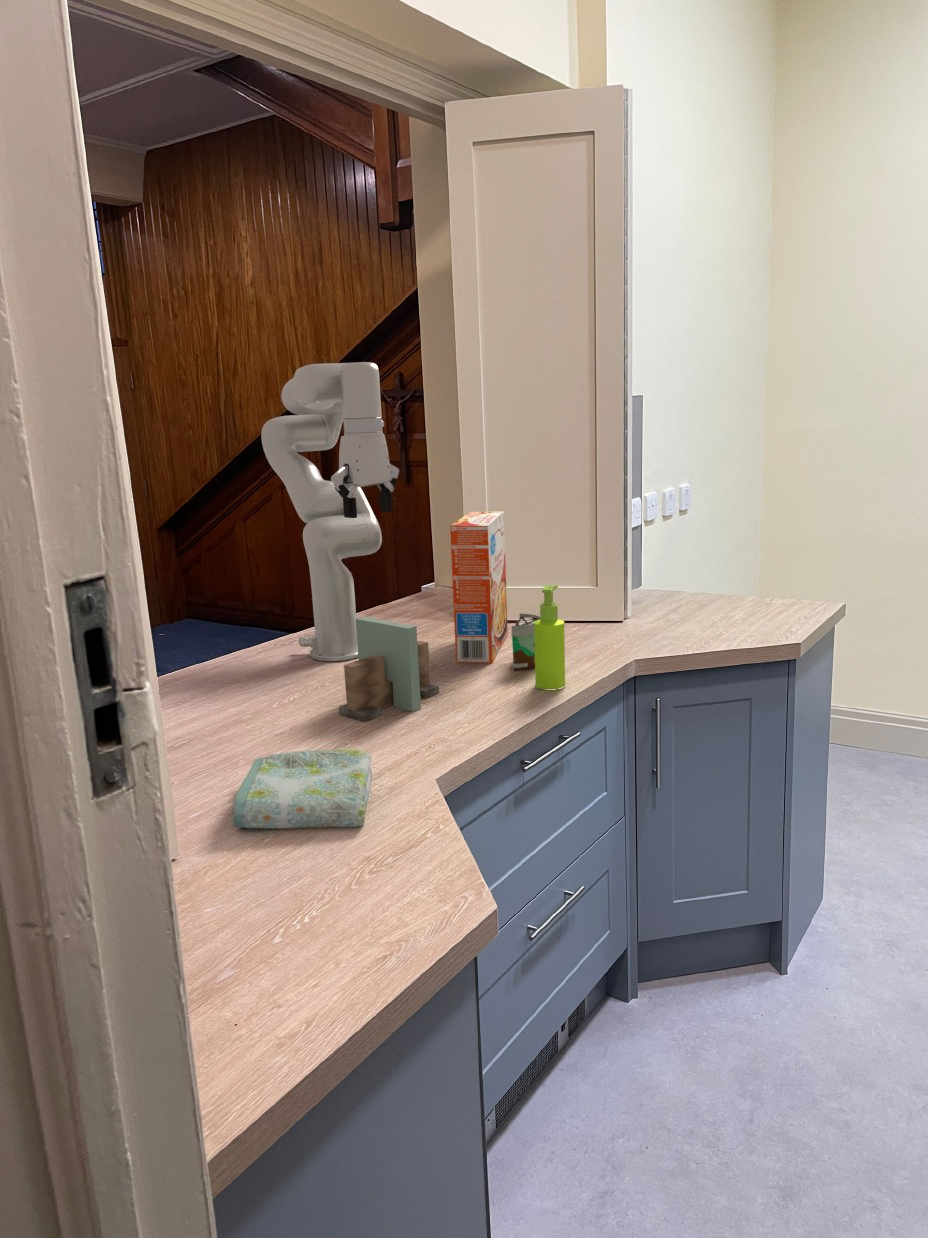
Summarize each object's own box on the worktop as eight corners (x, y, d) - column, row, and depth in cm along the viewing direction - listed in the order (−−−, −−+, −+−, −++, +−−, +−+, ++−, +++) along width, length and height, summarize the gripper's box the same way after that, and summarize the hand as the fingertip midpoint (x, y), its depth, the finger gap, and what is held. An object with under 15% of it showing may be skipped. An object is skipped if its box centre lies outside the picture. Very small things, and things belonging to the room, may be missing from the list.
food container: (542, 673, 195) (541, 627, 193) (512, 673, 196) (511, 626, 194) (548, 657, 207) (547, 613, 205) (521, 656, 208) (519, 612, 206)
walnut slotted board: (364, 721, 171) (361, 669, 169) (339, 714, 176) (335, 662, 173) (439, 693, 185) (437, 644, 183) (413, 686, 190) (411, 639, 188)
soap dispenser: (569, 680, 190) (567, 583, 185) (561, 691, 183) (559, 591, 179) (541, 679, 192) (538, 582, 187) (532, 689, 185) (529, 590, 181)
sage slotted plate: (412, 711, 175) (408, 628, 171) (361, 698, 184) (355, 618, 180) (420, 708, 177) (416, 626, 173) (369, 695, 186) (364, 616, 182)
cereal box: (492, 663, 204) (487, 525, 197) (456, 662, 206) (450, 526, 199) (507, 636, 226) (503, 511, 219) (474, 635, 228) (469, 511, 221)
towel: (374, 772, 149) (372, 741, 148) (365, 833, 129) (362, 798, 127) (259, 777, 149) (256, 747, 148) (231, 840, 128) (227, 805, 127)
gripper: (381, 425, 193) (386, 508, 197) (316, 430, 181) (323, 519, 185) (407, 424, 188) (412, 510, 192) (342, 430, 176) (349, 521, 180)
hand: (368, 514), depth 189 cm, fingers open, 9 cm apart
